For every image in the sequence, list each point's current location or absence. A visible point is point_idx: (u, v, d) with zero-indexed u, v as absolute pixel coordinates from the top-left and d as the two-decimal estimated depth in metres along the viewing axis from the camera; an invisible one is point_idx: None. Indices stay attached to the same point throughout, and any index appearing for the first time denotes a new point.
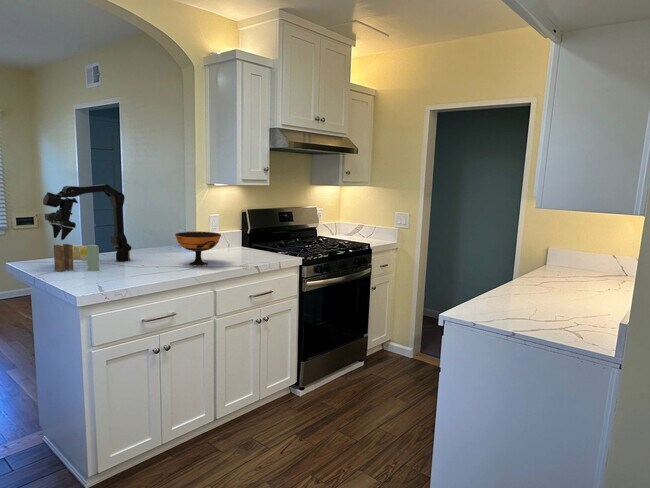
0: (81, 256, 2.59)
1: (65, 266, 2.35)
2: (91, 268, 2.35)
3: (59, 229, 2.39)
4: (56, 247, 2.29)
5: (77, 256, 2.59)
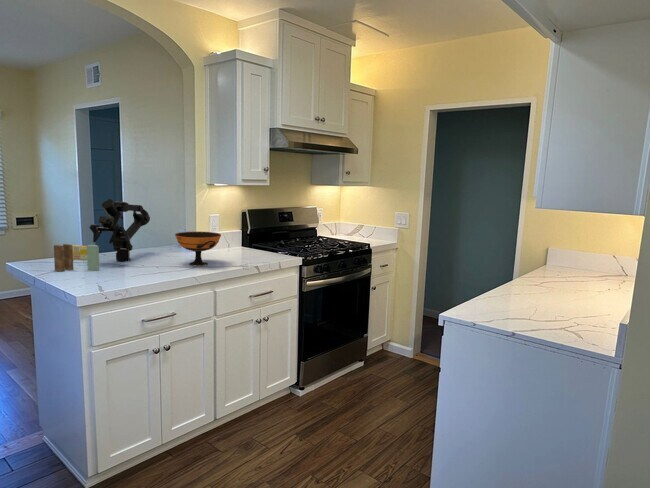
0: (81, 256, 2.59)
1: (65, 266, 2.35)
2: (91, 268, 2.35)
3: (98, 236, 2.46)
4: (56, 247, 2.29)
5: (77, 256, 2.59)
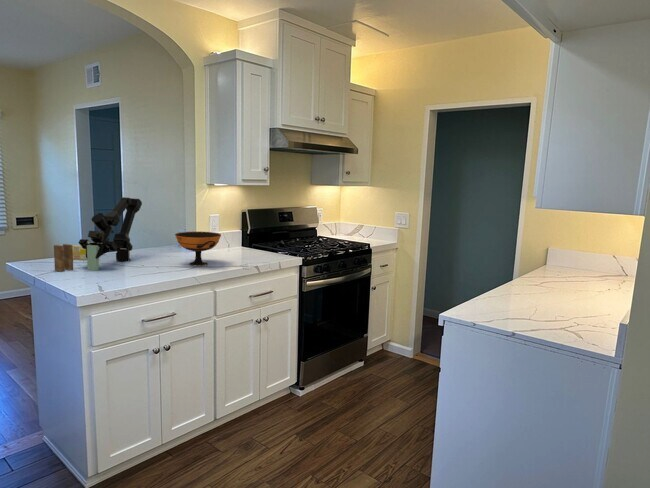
0: (81, 256, 2.59)
1: (65, 266, 2.35)
2: (91, 268, 2.35)
3: None
4: (56, 247, 2.29)
5: (77, 256, 2.59)
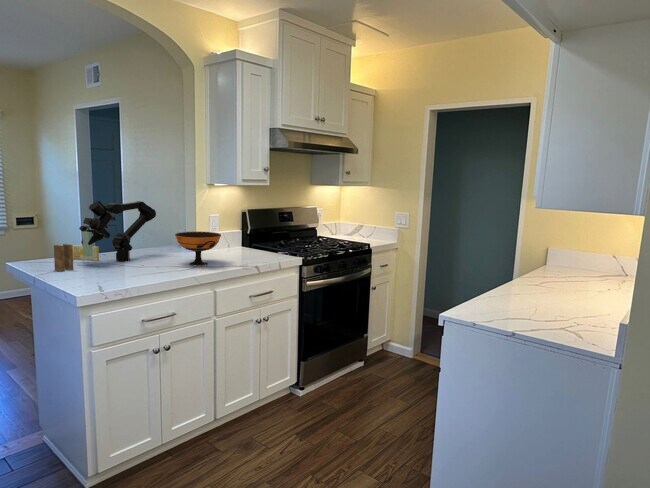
0: (81, 256, 2.59)
1: (65, 266, 2.35)
2: (85, 254, 2.42)
3: None
4: (56, 247, 2.29)
5: (77, 256, 2.59)
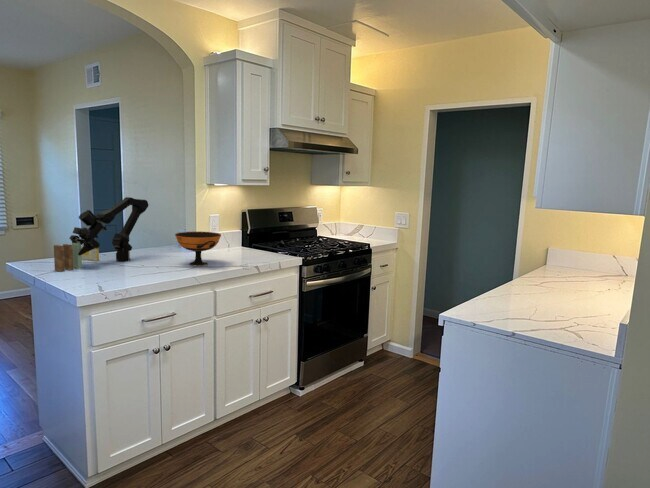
0: None
1: (65, 266, 2.35)
2: (75, 266, 2.38)
3: None
4: (56, 247, 2.28)
5: None
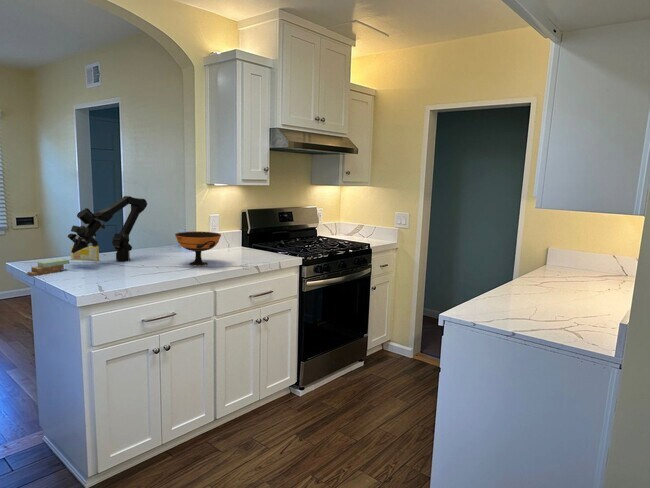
0: (81, 256, 2.59)
1: None
2: None
3: None
4: None
5: (77, 256, 2.59)
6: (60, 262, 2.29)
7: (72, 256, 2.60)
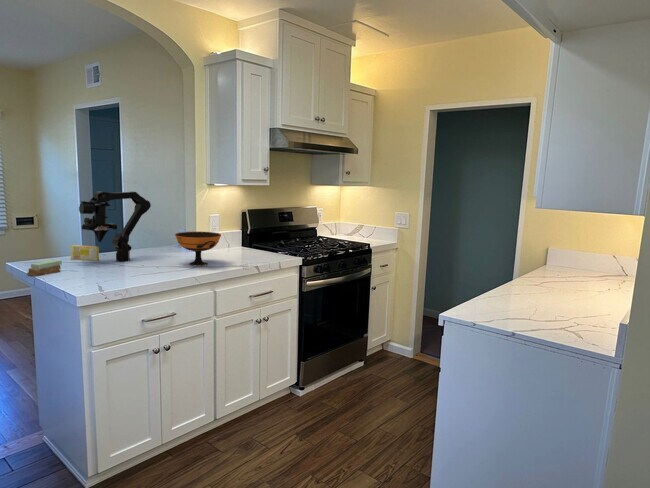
0: (81, 256, 2.59)
1: None
2: None
3: (102, 233, 2.51)
4: None
5: (77, 256, 2.59)
6: (53, 263, 2.26)
7: (72, 256, 2.60)
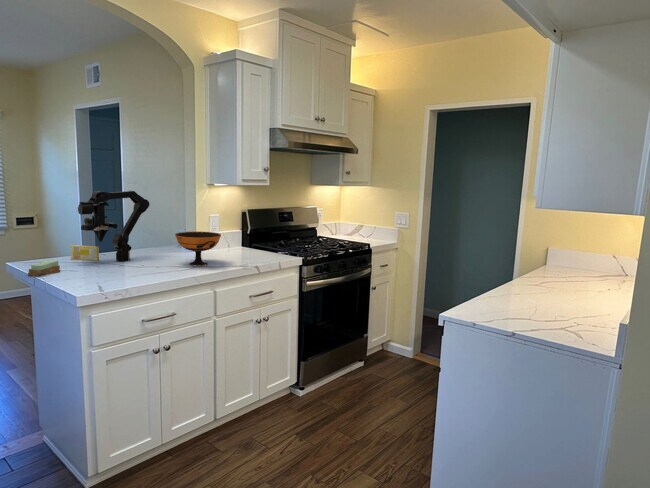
0: (81, 256, 2.59)
1: None
2: None
3: (102, 233, 2.51)
4: None
5: (77, 256, 2.59)
6: (52, 263, 2.25)
7: (72, 256, 2.60)
